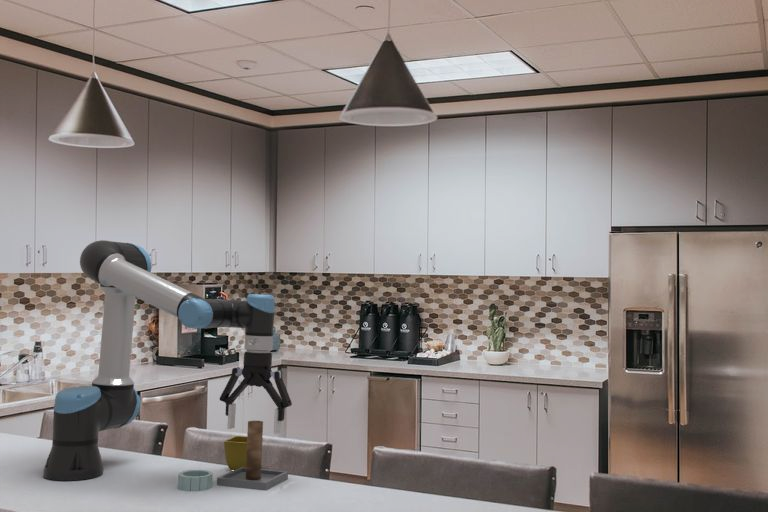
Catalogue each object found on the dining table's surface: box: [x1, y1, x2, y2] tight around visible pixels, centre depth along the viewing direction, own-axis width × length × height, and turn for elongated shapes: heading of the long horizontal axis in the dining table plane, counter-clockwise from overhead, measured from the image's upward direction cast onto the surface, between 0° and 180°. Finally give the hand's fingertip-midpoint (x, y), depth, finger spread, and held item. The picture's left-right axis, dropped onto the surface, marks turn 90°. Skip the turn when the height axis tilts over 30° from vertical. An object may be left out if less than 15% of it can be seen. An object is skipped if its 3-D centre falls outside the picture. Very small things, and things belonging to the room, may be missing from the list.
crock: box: [177, 469, 214, 492], centre depth 199 cm, size 8×8×4 cm
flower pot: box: [223, 435, 264, 471], centre depth 222 cm, size 9×9×9 cm
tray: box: [216, 467, 289, 491], centre depth 206 cm, size 14×14×2 cm
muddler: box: [246, 420, 264, 480], centre depth 206 cm, size 4×4×15 cm
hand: (253, 430), depth 207 cm, fingers open, 13 cm apart
